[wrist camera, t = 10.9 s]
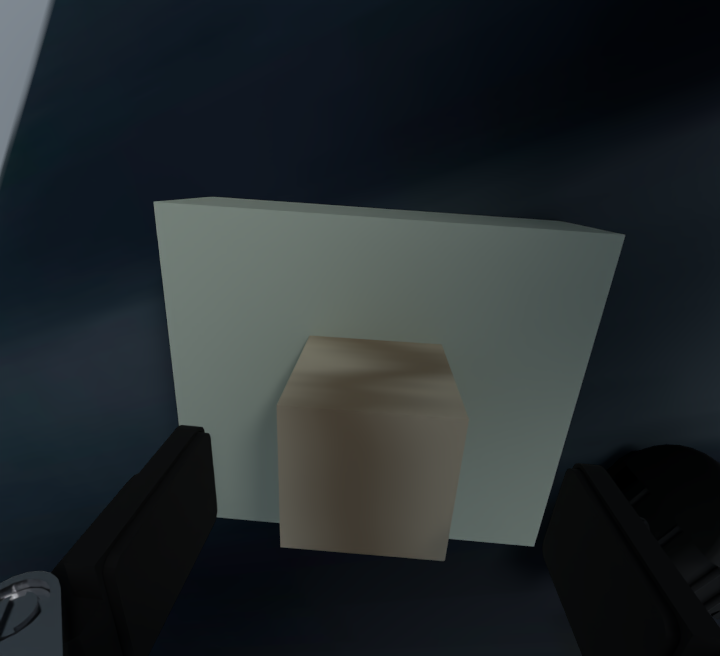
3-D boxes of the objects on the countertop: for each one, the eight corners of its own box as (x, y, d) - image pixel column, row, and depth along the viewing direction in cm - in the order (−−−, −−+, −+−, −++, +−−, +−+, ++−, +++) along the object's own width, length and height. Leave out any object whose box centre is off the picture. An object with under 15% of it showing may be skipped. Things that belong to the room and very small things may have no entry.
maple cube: (441, 344, 15) (468, 419, 10) (427, 454, 17) (444, 561, 12) (309, 335, 15) (276, 404, 10) (309, 444, 17) (280, 547, 12)
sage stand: (561, 221, 18) (625, 234, 13) (502, 471, 23) (533, 546, 18) (212, 196, 18) (153, 201, 14) (228, 447, 23) (189, 514, 18)
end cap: (784, 500, 22) (942, 625, 16) (683, 571, 25) (787, 706, 18) (658, 412, 21) (776, 512, 15) (563, 497, 23) (630, 615, 17)
